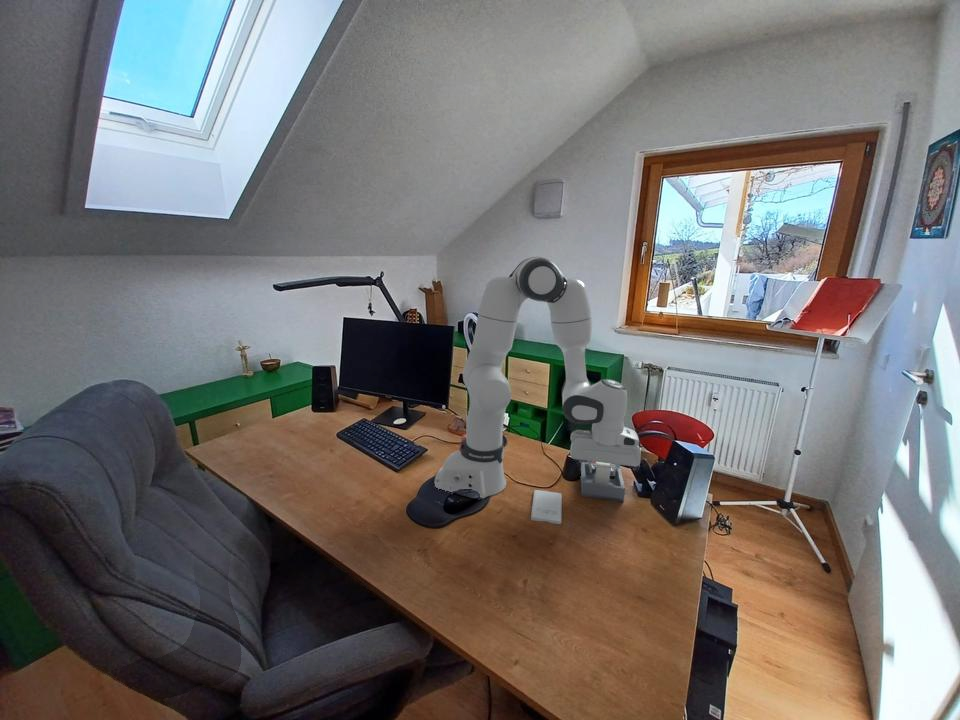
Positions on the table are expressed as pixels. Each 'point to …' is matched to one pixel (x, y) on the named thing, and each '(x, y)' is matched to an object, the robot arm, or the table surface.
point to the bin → (601, 485)
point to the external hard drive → (546, 507)
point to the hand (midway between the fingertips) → (602, 473)
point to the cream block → (602, 473)
